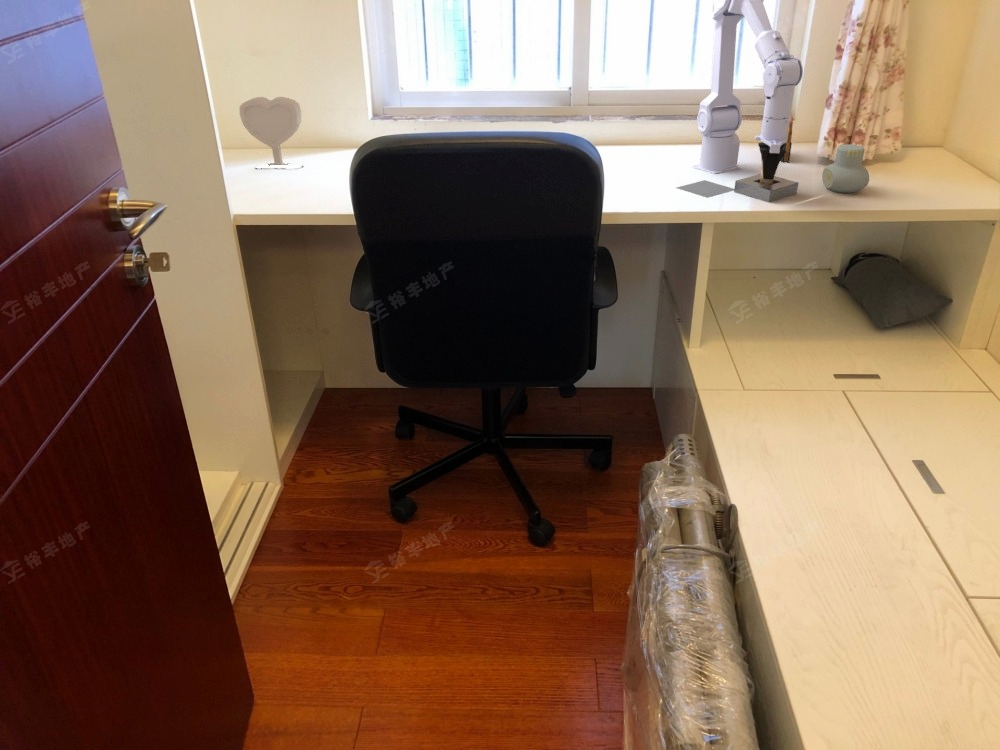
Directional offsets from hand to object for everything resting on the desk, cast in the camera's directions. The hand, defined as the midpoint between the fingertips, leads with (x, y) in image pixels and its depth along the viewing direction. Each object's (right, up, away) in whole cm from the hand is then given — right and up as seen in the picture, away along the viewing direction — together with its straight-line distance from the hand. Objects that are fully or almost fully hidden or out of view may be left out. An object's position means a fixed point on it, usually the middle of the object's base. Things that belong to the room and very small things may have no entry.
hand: (767, 176), depth 184 cm
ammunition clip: (+13, +13, +30) cm, 35 cm away
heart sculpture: (-122, +11, +33) cm, 127 cm away
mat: (-13, -2, +6) cm, 14 cm away
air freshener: (+19, -2, +4) cm, 20 cm away
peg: (0, -2, +1) cm, 3 cm away
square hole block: (0, -4, +2) cm, 4 cm away
